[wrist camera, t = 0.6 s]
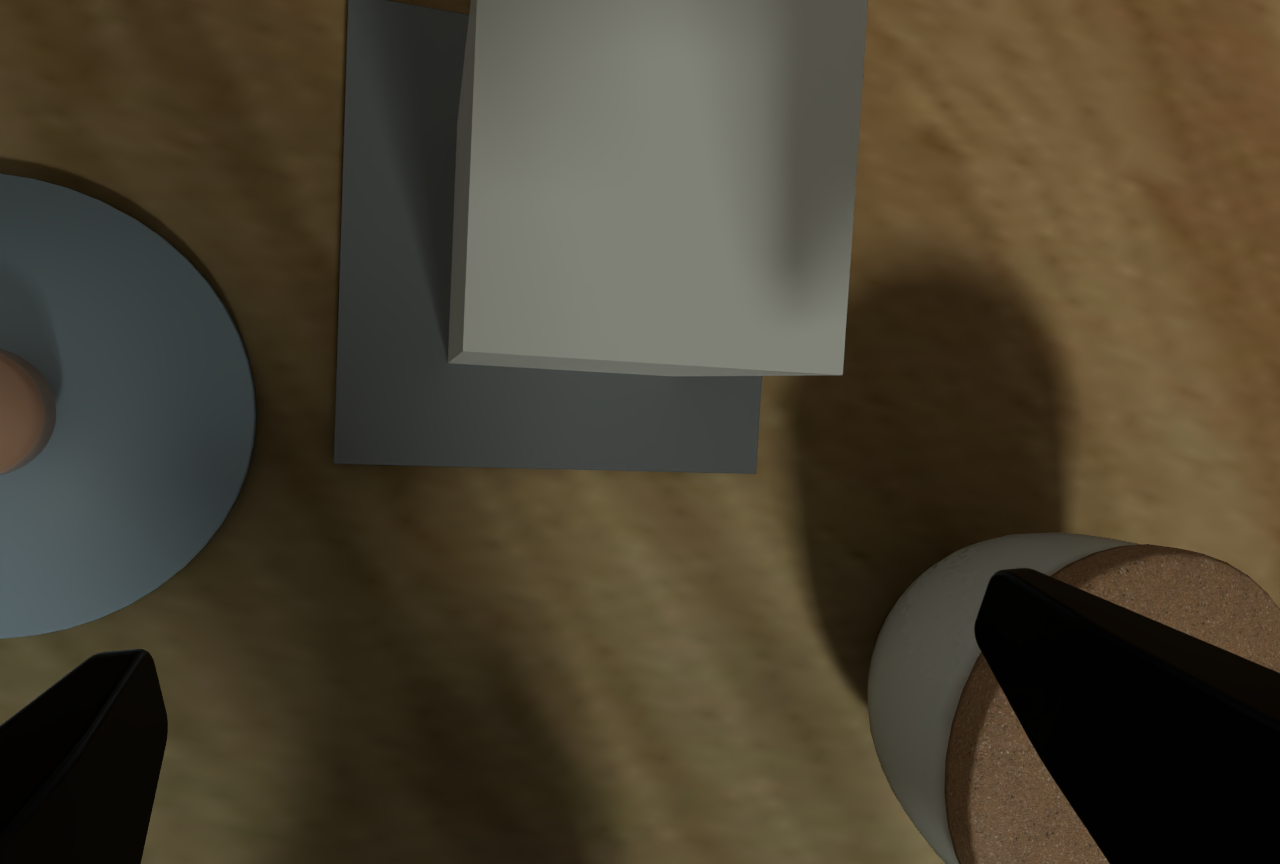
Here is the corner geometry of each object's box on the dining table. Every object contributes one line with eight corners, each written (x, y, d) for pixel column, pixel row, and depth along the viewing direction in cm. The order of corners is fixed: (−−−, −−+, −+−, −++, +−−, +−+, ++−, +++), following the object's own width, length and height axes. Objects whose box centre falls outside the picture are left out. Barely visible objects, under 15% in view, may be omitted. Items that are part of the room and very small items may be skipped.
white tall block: (673, 376, 23) (842, 375, 13) (447, 363, 21) (462, 350, 12) (685, 153, 22) (868, -7, 13) (457, 121, 21) (481, -89, 11)
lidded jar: (750, 732, 24) (937, 938, 15) (913, 442, 25) (1181, 478, 16) (986, 858, 27) (1262, 1095, 18) (1126, 593, 28) (1456, 695, 19)
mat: (750, 472, 24) (755, 473, 23) (335, 462, 21) (333, 463, 20) (774, 75, 23) (780, 70, 23) (350, 1, 20) (348, -7, 20)
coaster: (281, 595, 21) (278, 599, 20) (-237, 670, 18) (-251, 677, 17) (227, 172, 20) (223, 168, 19) (-331, 180, 17) (-349, 175, 16)
